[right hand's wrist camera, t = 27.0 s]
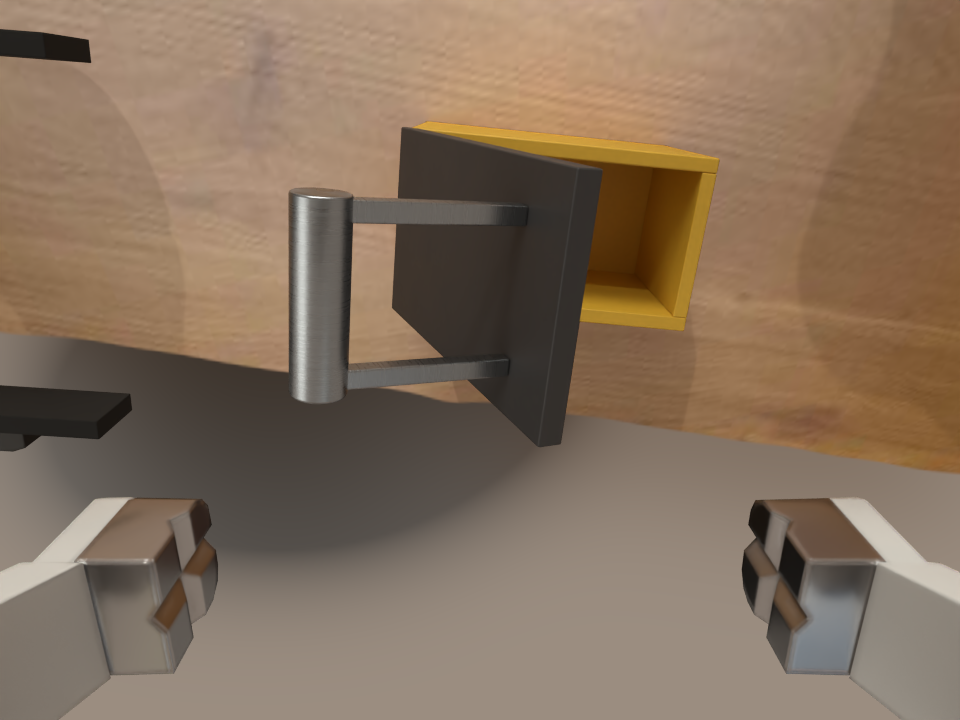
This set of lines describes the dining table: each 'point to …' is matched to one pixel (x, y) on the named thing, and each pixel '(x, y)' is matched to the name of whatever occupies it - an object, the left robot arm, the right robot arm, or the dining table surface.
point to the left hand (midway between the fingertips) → (95, 249)
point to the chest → (629, 221)
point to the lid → (453, 276)
